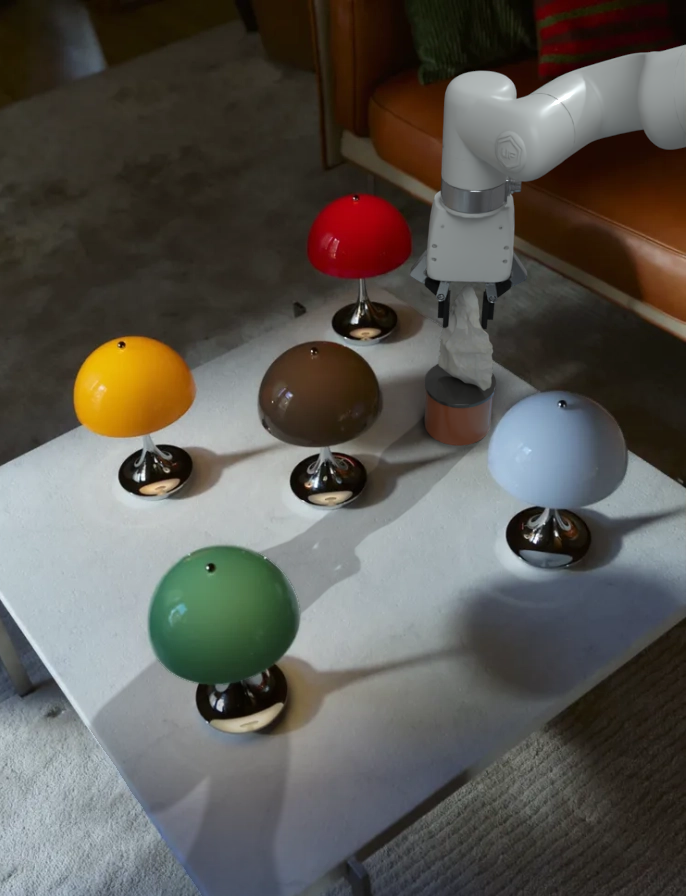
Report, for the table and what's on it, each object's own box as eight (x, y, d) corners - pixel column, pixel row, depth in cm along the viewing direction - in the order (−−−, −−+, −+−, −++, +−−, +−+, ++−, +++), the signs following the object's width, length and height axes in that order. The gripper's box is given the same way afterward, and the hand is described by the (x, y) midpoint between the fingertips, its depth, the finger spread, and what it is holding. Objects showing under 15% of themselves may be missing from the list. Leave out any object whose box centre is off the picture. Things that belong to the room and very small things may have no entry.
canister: (492, 402, 136) (496, 360, 130) (491, 448, 129) (496, 406, 124) (425, 399, 137) (426, 357, 131) (420, 444, 130) (422, 402, 125)
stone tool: (430, 376, 128) (440, 279, 118) (443, 365, 130) (454, 269, 119) (483, 401, 124) (498, 304, 114) (496, 390, 126) (512, 293, 115)
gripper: (548, 174, 108) (531, 307, 122) (402, 172, 111) (401, 302, 124) (550, 208, 103) (532, 342, 117) (397, 205, 106) (396, 337, 119)
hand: (465, 320), depth 120 cm, fingers closed on stone tool, 4 cm apart
